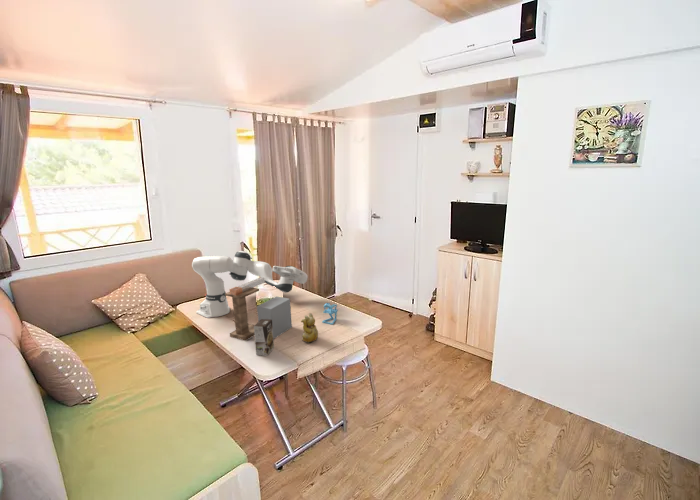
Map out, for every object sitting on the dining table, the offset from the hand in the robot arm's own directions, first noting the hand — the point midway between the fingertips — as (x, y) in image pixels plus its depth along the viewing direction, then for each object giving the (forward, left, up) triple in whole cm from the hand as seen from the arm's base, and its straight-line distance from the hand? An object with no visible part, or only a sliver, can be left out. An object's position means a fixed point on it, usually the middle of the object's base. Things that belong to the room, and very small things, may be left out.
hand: (279, 267), depth 227 cm
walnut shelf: (0, -33, -31) cm, 45 cm away
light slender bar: (0, -28, -5) cm, 28 cm away
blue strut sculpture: (+36, +2, -31) cm, 47 cm away
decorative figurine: (+39, -24, -31) cm, 55 cm away
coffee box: (+24, -44, -31) cm, 59 cm away
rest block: (+14, -24, -31) cm, 41 cm away
